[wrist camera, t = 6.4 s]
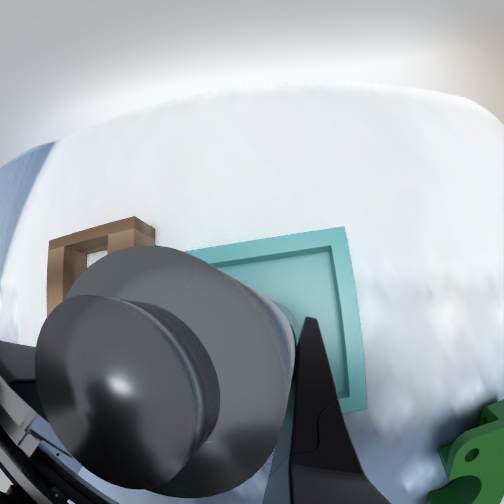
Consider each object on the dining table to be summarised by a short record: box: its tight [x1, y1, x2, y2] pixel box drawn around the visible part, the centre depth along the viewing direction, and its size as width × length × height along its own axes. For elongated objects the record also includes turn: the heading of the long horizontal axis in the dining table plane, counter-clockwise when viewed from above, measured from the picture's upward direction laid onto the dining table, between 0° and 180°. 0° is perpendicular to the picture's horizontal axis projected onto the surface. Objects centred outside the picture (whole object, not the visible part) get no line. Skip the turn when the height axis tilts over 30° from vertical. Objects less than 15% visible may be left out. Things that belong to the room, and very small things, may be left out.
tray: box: [185, 227, 367, 414], centre depth 16 cm, size 11×11×2 cm
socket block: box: [47, 216, 155, 317], centre depth 19 cm, size 12×10×3 cm
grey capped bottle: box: [35, 246, 299, 498], centre depth 9 cm, size 4×4×14 cm
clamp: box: [429, 400, 504, 504], centre depth 9 cm, size 12×6×9 cm, turn 178°
